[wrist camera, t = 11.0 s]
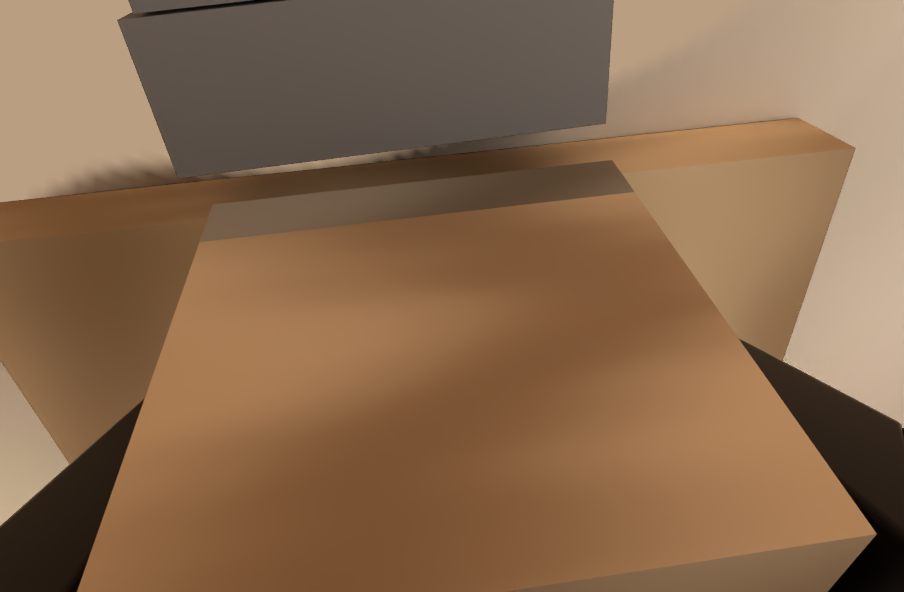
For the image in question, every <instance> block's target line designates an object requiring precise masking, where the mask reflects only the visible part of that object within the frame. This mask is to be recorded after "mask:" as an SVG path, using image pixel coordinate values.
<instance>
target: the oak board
mask: <svg viewBox="0 0 904 592" xmlns="http://www.w3.org/2000/svg"><path fill="white" fill-rule="evenodd" d="M854 151H855V148H854V147H852V146H851V145H849V144H847V143H845V142H843V141H841V140H839V139H837V138H835V137H833V136H831V135H830V134H828V133H826V132H824V131H822V130H820V129H818V128H816V127H814V126H812V125H810V124H809V123H807V122H805V121H803V120H801V119H799V118H795V119H785V120H776V121H766V122H757V123H747V124H738V125H729V126H719V127H710V128H700V129H691V130H681V131H672V132H662V133H653V134H643V135H634V136H625V137H615V138H606V139H596V140H587V141H577V142H568V143H558V144H549V145H539V146H530V147H520V148H511V149H502V150H492V151H483V152H473V153H464V154H454V155H445V156H435V157H426V158H416V159H407V160H397V161H388V162H379V163H369V164H360V165H350V166H341V167H331V168H322V169H312V170H303V171H293V172H284V173H274V174H265V175H256V176H246V177H237V178H227V179H218V180H208V181H199V182H189V183H180V184H170V185H161V186H151V187H142V188H133V189H123V190H114V191H104V192H95V193H85V194H76V195H66V196H57V197H47V198H38V199H29V200H19V201H10V202H1V203H0V360H1V362H2V363H3V365H4V366H5V368H6V369H7V371H8V372H9V374H10V375H11V377H12V378H13V380H14V381H15V383H16V384H17V386H18V387H19V389H20V390H21V392H22V393H23V395H24V396H25V398H26V399H27V401H28V402H29V404H30V405H31V407H32V408H33V410H34V411H35V413H36V414H37V416H38V417H39V419H40V420H41V422H42V423H43V425H44V426H45V428H46V429H47V431H48V432H49V434H50V435H51V437H52V438H53V440H54V441H55V443H56V444H57V446H58V447H59V449H60V450H61V452H62V453H63V455H64V456H65V458H66V459H67V461H68V462H69V464H71V463H72V462H73V461H74V460H75V459H76V458H78V457H79V456H80V455H81V454H82V453H83V452H84V451H85V450H87V449H88V448H89V447H90V446H91V445H92V444H93V443H94V442H96V441H97V440H98V439H99V438H100V437H101V436H102V435H104V434H105V433H106V432H107V431H108V430H109V429H110V428H111V427H113V426H114V425H115V424H116V423H117V422H118V421H119V420H120V419H122V418H123V417H124V416H125V415H126V414H127V413H128V412H129V411H131V410H132V409H133V408H134V407H135V406H136V405H137V404H138V403H140V402H141V401H142V400H143V399H144V398H145V396H146V393H147V391H148V388H149V385H150V382H151V379H152V376H153V373H154V371H155V368H156V365H157V362H158V359H159V356H160V353H161V351H162V348H163V345H164V342H165V339H166V336H167V333H168V331H169V328H170V325H171V322H172V319H173V316H174V314H175V311H176V308H177V305H178V302H179V299H180V296H181V294H182V291H183V288H184V285H185V282H186V279H187V276H188V274H189V271H190V268H191V265H192V262H193V259H194V256H195V254H196V251H197V248H198V245H199V242H200V239H201V236H202V234H203V231H204V228H205V225H206V222H207V219H208V216H209V214H210V211H211V208H212V205H214V204H223V203H232V202H240V201H249V200H258V199H267V198H276V197H285V196H294V195H303V194H312V193H321V192H330V191H339V190H348V189H357V188H366V187H375V186H383V185H392V184H401V183H410V182H419V181H428V180H437V179H446V178H455V177H464V176H473V175H482V174H491V173H500V172H509V171H517V170H526V169H535V168H544V167H553V166H562V165H571V164H580V163H589V162H598V161H607V160H612V161H613V162H614V163H615V165H616V166H617V168H618V169H619V170H620V172H621V173H622V175H623V176H624V177H625V179H626V180H627V182H628V183H629V185H630V186H631V187H632V189H633V190H634V192H635V193H636V194H637V196H638V197H639V199H640V200H641V201H642V203H643V204H644V206H645V207H646V209H647V210H648V211H649V213H650V214H651V216H652V217H653V218H654V220H655V221H656V223H657V224H658V225H659V227H660V228H661V230H662V231H663V233H664V234H665V235H666V237H667V238H668V240H669V241H670V242H671V244H672V245H673V247H674V248H675V250H676V251H677V252H678V254H679V255H680V257H681V258H682V259H683V261H684V262H685V264H686V265H687V266H688V268H689V269H690V271H691V272H692V274H693V275H694V276H695V278H696V279H697V281H698V282H699V283H700V285H701V286H702V288H703V289H704V290H705V292H706V293H707V295H708V296H709V298H710V299H711V300H712V302H713V303H714V305H715V306H716V307H717V309H718V310H719V312H720V313H721V315H722V316H723V317H724V319H725V320H726V322H727V323H728V324H729V326H730V327H731V329H732V330H733V331H734V333H735V334H736V336H737V337H738V338H739V339H741V340H743V341H745V342H747V343H749V344H751V345H753V346H755V347H757V348H758V349H760V350H762V351H764V352H766V353H768V354H770V355H772V356H774V357H776V358H778V359H779V360H781V361H783V358H784V355H785V352H786V349H787V346H788V344H789V341H790V338H791V335H792V332H793V329H794V326H795V323H796V320H797V317H798V314H799V311H800V309H801V306H802V303H803V300H804V297H805V294H806V291H807V288H808V285H809V282H810V279H811V276H812V274H813V271H814V268H815V265H816V262H817V259H818V256H819V253H820V250H821V247H822V244H823V241H824V239H825V236H826V233H827V230H828V227H829V224H830V221H831V218H832V215H833V212H834V209H835V207H836V204H837V201H838V198H839V195H840V192H841V189H842V186H843V183H844V180H845V177H846V174H847V172H848V169H849V166H850V163H851V160H852V157H853V154H854Z"/></svg>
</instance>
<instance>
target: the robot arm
mask: <svg viewBox="0 0 904 592" xmlns="http://www.w3.org/2000/svg"><path fill="white" fill-rule="evenodd" d="M738 339H739V338H738ZM739 340H740V341H741V343H742V344H743V346H744V347H745V348H746V350H747V351H748V353H749V354H750V355H751V357H752V358H753V360H754V361H755V363H756V364H757V365H758V367H759V368H760V370H761V371H762V372H763V374H764V375H765V377H766V378H767V379H768V381H769V382H770V384H771V385H772V387H773V388H774V389H775V391H776V392H777V394H778V395H779V396H780V398H781V399H782V401H783V402H784V404H785V405H786V406H787V408H788V409H789V411H790V412H791V413H792V415H793V416H794V418H795V419H796V420H797V422H798V423H799V425H800V426H801V428H802V429H803V430H804V432H805V433H806V435H807V436H808V437H809V439H810V440H811V442H812V443H813V444H814V446H815V447H816V449H817V450H818V452H819V453H820V454H821V456H822V457H823V459H824V460H825V461H826V463H827V464H828V466H829V467H830V469H831V470H832V471H833V473H834V474H835V476H836V477H837V478H838V480H839V481H840V483H841V484H842V485H843V487H844V488H845V490H846V491H847V493H848V494H849V495H850V497H851V498H852V500H853V501H854V502H855V504H856V505H857V507H858V508H859V509H860V511H861V512H862V514H863V515H864V517H865V518H866V519H867V521H868V522H869V524H870V525H871V526H872V528H873V529H874V531H875V532H876V533H877V535H876V536H875V537H874V538H873V539H872V540H871V542H870V543H869V544H868V545H867V546H866V547H865V549H864V550H863V551H862V552H861V553H860V554H859V556H858V557H857V558H856V559H855V560H854V561H853V563H852V564H851V565H850V566H849V567H848V568H847V570H846V571H845V572H844V573H843V574H842V575H841V577H840V578H839V579H838V580H837V581H836V582H835V584H834V585H833V586H832V587H831V588H830V590H829V591H828V592H904V428H902V426H901V424H900V423H899V422H897V421H896V420H894V419H892V418H890V417H888V416H886V415H884V414H882V413H880V412H878V411H877V410H875V409H873V408H871V407H869V406H867V405H865V404H863V403H861V402H859V401H857V400H856V399H854V398H852V397H850V396H848V395H846V394H844V393H842V392H840V391H838V390H837V389H835V388H833V387H831V386H829V385H827V384H825V383H823V382H821V381H819V380H817V379H816V378H814V377H812V376H810V375H808V374H806V373H804V372H802V371H800V370H798V369H797V368H795V367H793V366H791V365H789V364H787V363H785V362H783V361H781V360H779V359H778V358H776V357H774V356H772V355H770V354H768V353H766V352H764V351H762V350H760V349H758V348H757V347H755V346H753V345H751V344H749V343H747V342H745V341H743V340H741V339H739ZM144 399H145V398H144ZM144 399H143V400H142V401H141V402H140V403H138V404H137V405H136V406H135V407H134V408H133V409H132V410H131V411H129V412H128V413H127V414H126V415H125V416H124V417H123V418H122V419H120V420H119V421H118V422H117V423H116V424H115V425H114V426H113V427H111V428H110V429H109V430H108V431H107V432H106V433H105V434H104V435H102V436H101V437H100V438H99V439H98V440H97V441H96V442H94V443H93V444H92V445H91V446H90V447H89V448H88V449H87V450H85V451H84V452H83V453H82V454H81V455H80V456H79V457H78V458H76V459H75V460H74V461H73V462H72V463H71V464H70V465H69V466H67V467H66V468H65V469H64V470H63V471H62V472H61V473H60V474H58V475H57V476H56V477H55V478H54V479H53V480H52V481H51V482H49V483H48V484H47V485H46V486H45V487H44V488H43V489H42V490H40V491H39V492H38V493H37V494H36V495H35V496H34V497H32V498H31V499H30V500H29V501H28V502H27V503H26V504H25V505H23V506H22V507H21V508H20V509H19V510H18V511H17V512H16V513H14V514H13V515H12V516H11V517H10V518H9V519H8V520H7V521H5V522H4V523H3V524H2V525H1V526H0V592H77V590H78V587H79V585H80V582H81V579H82V576H83V573H84V570H85V567H86V565H87V562H88V559H89V556H90V553H91V550H92V548H93V545H94V542H95V539H96V536H97V533H98V530H99V528H100V525H101V522H102V519H103V516H104V513H105V510H106V508H107V505H108V502H109V499H110V496H111V493H112V490H113V488H114V485H115V482H116V479H117V476H118V473H119V470H120V468H121V465H122V462H123V459H124V456H125V453H126V450H127V448H128V445H129V442H130V439H131V436H132V433H133V431H134V428H135V425H136V422H137V419H138V416H139V413H140V411H141V408H142V405H143V402H144Z"/></svg>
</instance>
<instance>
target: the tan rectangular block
mask: <svg viewBox="0 0 904 592" xmlns="http://www.w3.org/2000/svg"><path fill="white" fill-rule="evenodd" d="M876 535H877V533H876V532H875V531H874V529H873V528H872V526H871V525H870V524H869V522H868V521H867V519H866V518H865V517H864V515H863V514H862V512H861V511H860V509H859V508H858V507H857V505H856V504H855V502H854V501H853V500H852V498H851V497H850V495H849V494H848V493H847V491H846V490H845V488H844V487H843V485H842V484H841V483H840V481H839V480H838V478H837V477H836V476H835V474H834V473H833V471H832V470H831V469H830V467H829V466H828V464H827V463H826V461H825V460H824V459H823V457H822V456H821V454H820V453H819V452H818V450H817V449H816V447H815V446H814V444H813V443H812V442H811V440H810V439H809V437H808V436H807V435H806V433H805V432H804V430H803V429H802V428H801V426H800V425H799V423H798V422H797V420H796V419H795V418H794V416H793V415H792V413H791V412H790V411H789V409H788V408H787V406H786V405H785V404H784V402H783V401H782V399H781V398H780V396H779V395H778V394H777V392H776V391H775V389H774V388H773V387H772V385H771V384H770V382H769V381H768V379H767V378H766V377H765V375H764V374H763V372H762V371H761V370H760V368H759V367H758V365H757V364H756V363H755V361H754V360H753V358H752V357H751V355H750V354H749V353H748V351H747V350H746V348H745V347H744V346H743V344H742V343H741V341H740V340H739V339H738V337H737V336H736V334H735V333H734V331H733V330H732V329H731V327H730V326H729V324H728V323H727V322H726V320H725V319H724V317H723V316H722V315H721V313H720V312H719V310H718V309H717V307H716V306H715V305H714V303H713V302H712V300H711V299H710V298H709V296H708V295H707V293H706V292H705V290H704V289H703V288H702V286H701V285H700V283H699V282H698V281H697V279H696V278H695V276H694V275H693V274H692V272H691V271H690V269H689V268H688V266H687V265H686V264H685V262H684V261H683V259H682V258H681V257H680V255H679V254H678V252H677V251H676V250H675V248H674V247H673V245H672V244H671V242H670V241H669V240H668V238H667V237H666V235H665V234H664V233H663V231H662V230H661V228H660V227H659V225H658V224H657V223H656V221H655V220H654V218H653V217H652V216H651V214H650V213H649V211H648V210H647V209H646V207H645V206H644V204H643V203H642V201H641V200H640V199H639V197H638V196H637V194H636V193H635V192H634V190H633V189H632V187H631V186H630V185H629V183H628V182H627V180H626V179H625V177H624V176H623V175H622V173H621V172H620V170H619V169H618V168H617V166H616V165H615V163H614V162H613V161H612V160H607V161H598V162H589V163H580V164H571V165H562V166H553V167H544V168H535V169H526V170H517V171H509V172H500V173H491V174H482V175H473V176H464V177H455V178H446V179H437V180H428V181H419V182H410V183H401V184H392V185H383V186H375V187H366V188H357V189H348V190H339V191H330V192H321V193H312V194H303V195H294V196H285V197H276V198H267V199H258V200H249V201H240V202H232V203H223V204H214V205H212V208H211V211H210V214H209V216H208V219H207V222H206V225H205V228H204V231H203V234H202V236H201V239H200V242H199V245H198V248H197V251H196V254H195V256H194V259H193V262H192V265H191V268H190V271H189V274H188V276H187V279H186V282H185V285H184V288H183V291H182V294H181V296H180V299H179V302H178V305H177V308H176V311H175V314H174V316H173V319H172V322H171V325H170V328H169V331H168V333H167V336H166V339H165V342H164V345H163V348H162V351H161V353H160V356H159V359H158V362H157V365H156V368H155V371H154V373H153V376H152V379H151V382H150V385H149V388H148V391H147V393H146V396H145V399H144V402H143V405H142V408H141V411H140V413H139V416H138V419H137V422H136V425H135V428H134V431H133V433H132V436H131V439H130V442H129V445H128V448H127V450H126V453H125V456H124V459H123V462H122V465H121V468H120V470H119V473H118V476H117V479H116V482H115V485H114V488H113V490H112V493H111V496H110V499H109V502H108V505H107V508H106V510H105V513H104V516H103V519H102V522H101V525H100V528H99V530H98V533H97V536H96V539H95V542H94V545H93V548H92V550H91V553H90V556H89V559H88V562H87V565H86V567H85V570H84V573H83V576H82V579H81V582H80V585H79V587H78V590H77V592H828V591H829V590H830V588H831V587H832V586H833V585H834V584H835V582H836V581H837V580H838V579H839V578H840V577H841V575H842V574H843V573H844V572H845V571H846V570H847V568H848V567H849V566H850V565H851V564H852V563H853V561H854V560H855V559H856V558H857V557H858V556H859V554H860V553H861V552H862V551H863V550H864V549H865V547H866V546H867V545H868V544H869V543H870V542H871V540H872V539H873V538H874V537H875V536H876Z"/></svg>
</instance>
